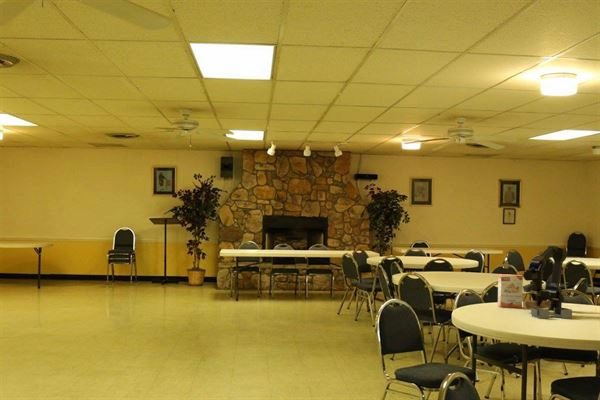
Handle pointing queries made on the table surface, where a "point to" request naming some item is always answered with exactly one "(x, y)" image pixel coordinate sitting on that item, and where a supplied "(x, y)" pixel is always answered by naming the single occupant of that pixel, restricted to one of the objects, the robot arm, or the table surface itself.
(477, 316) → the table surface
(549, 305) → the walnut rail
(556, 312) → the brackets
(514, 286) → the cracker box
